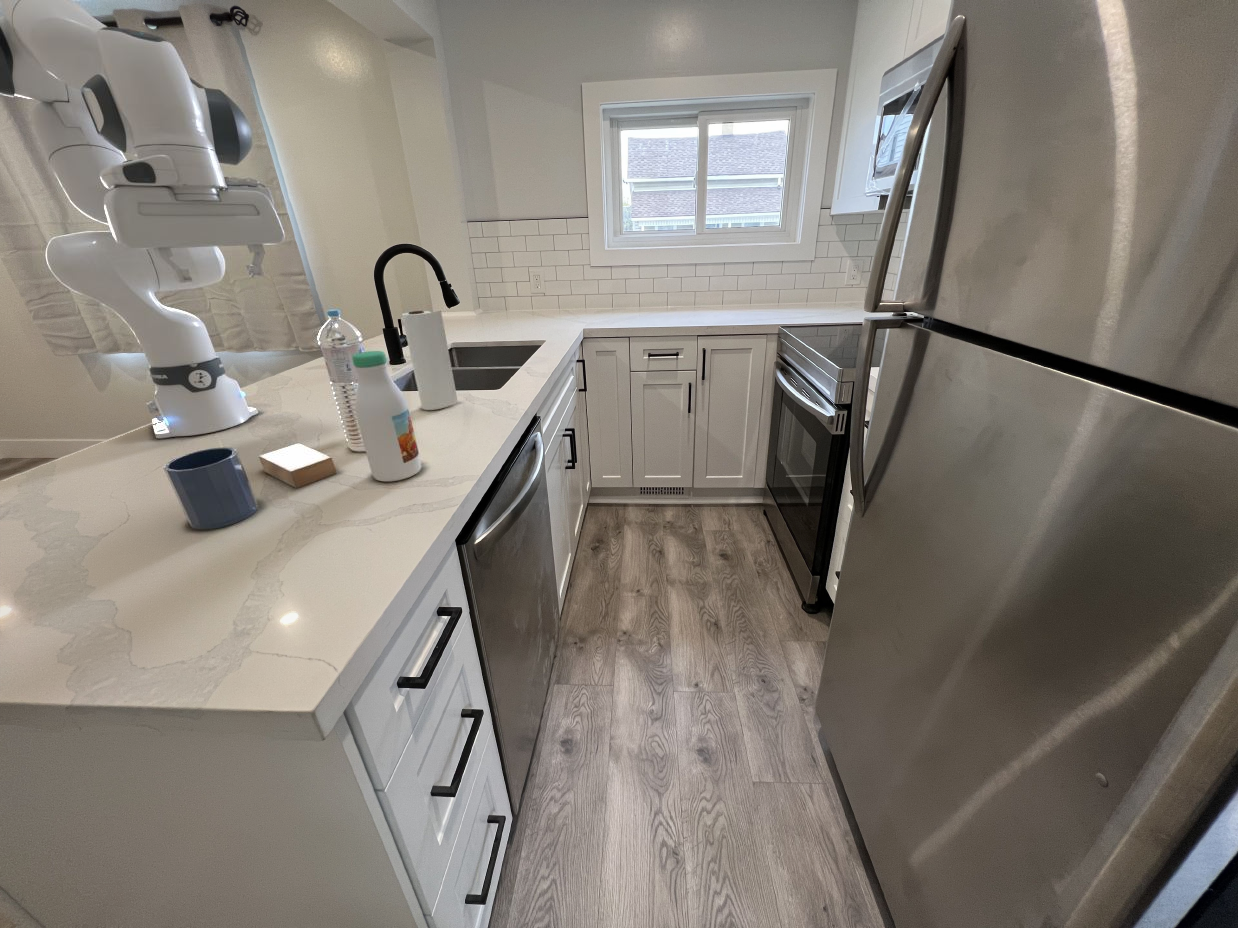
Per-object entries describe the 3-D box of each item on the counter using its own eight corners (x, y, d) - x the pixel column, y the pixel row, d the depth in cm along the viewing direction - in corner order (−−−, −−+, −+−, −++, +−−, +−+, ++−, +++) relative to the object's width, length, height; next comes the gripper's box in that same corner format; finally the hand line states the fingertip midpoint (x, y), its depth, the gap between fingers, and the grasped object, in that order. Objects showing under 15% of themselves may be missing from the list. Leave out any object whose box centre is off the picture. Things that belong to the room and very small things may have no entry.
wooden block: (264, 471, 86) (258, 455, 84) (303, 458, 90) (298, 443, 89) (296, 488, 79) (290, 471, 78) (336, 473, 84) (331, 457, 83)
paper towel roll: (416, 410, 114) (395, 314, 105) (430, 402, 119) (410, 310, 110) (445, 411, 112) (426, 313, 103) (458, 403, 118) (441, 309, 109)
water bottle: (373, 453, 91) (335, 313, 81) (341, 452, 92) (300, 313, 82) (395, 439, 97) (363, 307, 87) (365, 438, 99) (329, 307, 88)
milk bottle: (392, 486, 78) (359, 361, 70) (363, 476, 82) (329, 356, 74) (431, 468, 84) (406, 350, 76) (403, 459, 88) (375, 346, 80)
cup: (182, 519, 71) (155, 462, 68) (245, 496, 77) (223, 443, 73) (202, 536, 67) (175, 476, 63) (267, 510, 73) (245, 454, 69)
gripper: (258, 181, 79) (286, 274, 85) (82, 173, 64) (131, 286, 70) (275, 177, 76) (303, 273, 81) (93, 167, 61) (144, 286, 66)
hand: (222, 279), depth 75 cm, fingers open, 8 cm apart
